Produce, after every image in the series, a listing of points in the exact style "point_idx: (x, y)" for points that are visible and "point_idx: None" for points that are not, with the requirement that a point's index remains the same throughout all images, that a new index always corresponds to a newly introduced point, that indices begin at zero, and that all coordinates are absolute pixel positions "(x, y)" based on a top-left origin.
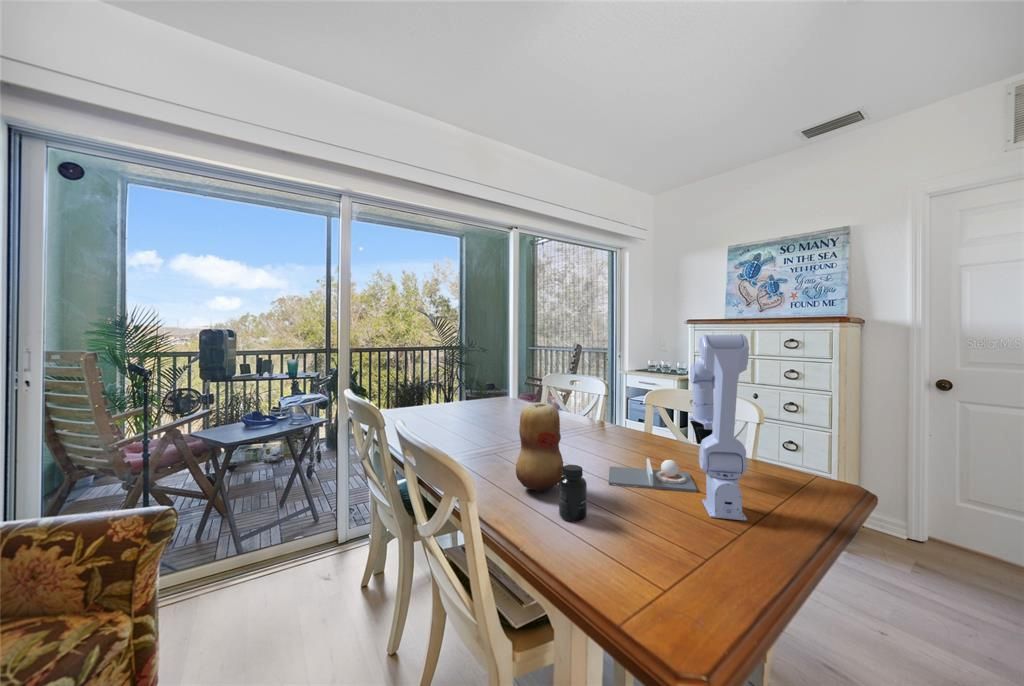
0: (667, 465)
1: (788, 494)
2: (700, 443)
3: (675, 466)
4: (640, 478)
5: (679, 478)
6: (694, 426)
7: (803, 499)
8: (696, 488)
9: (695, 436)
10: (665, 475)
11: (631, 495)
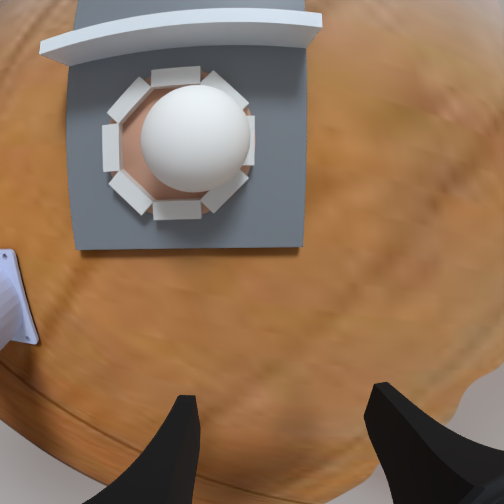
0: (148, 119)
1: None
2: (371, 402)
3: (152, 171)
4: (151, 6)
5: None
6: (446, 475)
7: None
8: (85, 249)
9: (414, 409)
10: None
11: (17, 17)
